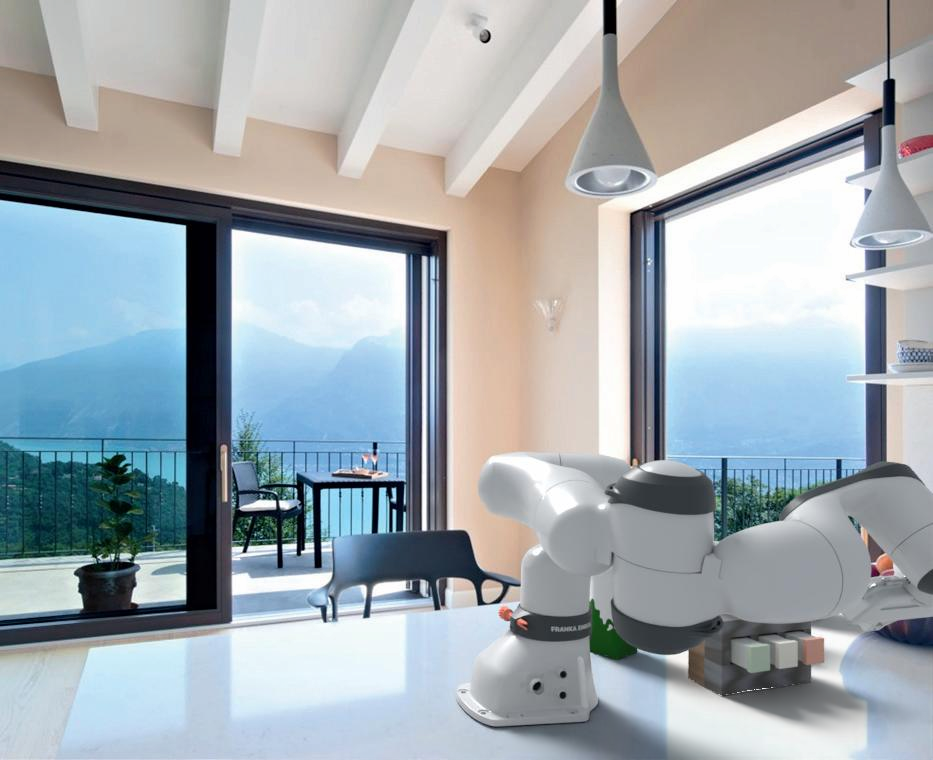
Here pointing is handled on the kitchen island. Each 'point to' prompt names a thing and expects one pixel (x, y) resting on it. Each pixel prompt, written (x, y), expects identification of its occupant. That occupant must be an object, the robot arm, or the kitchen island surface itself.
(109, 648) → the kitchen island surface
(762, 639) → the cream button
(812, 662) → the coral button
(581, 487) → the robot arm
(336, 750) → the kitchen island surface
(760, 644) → the sage button
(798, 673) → the console
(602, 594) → the milk carton
